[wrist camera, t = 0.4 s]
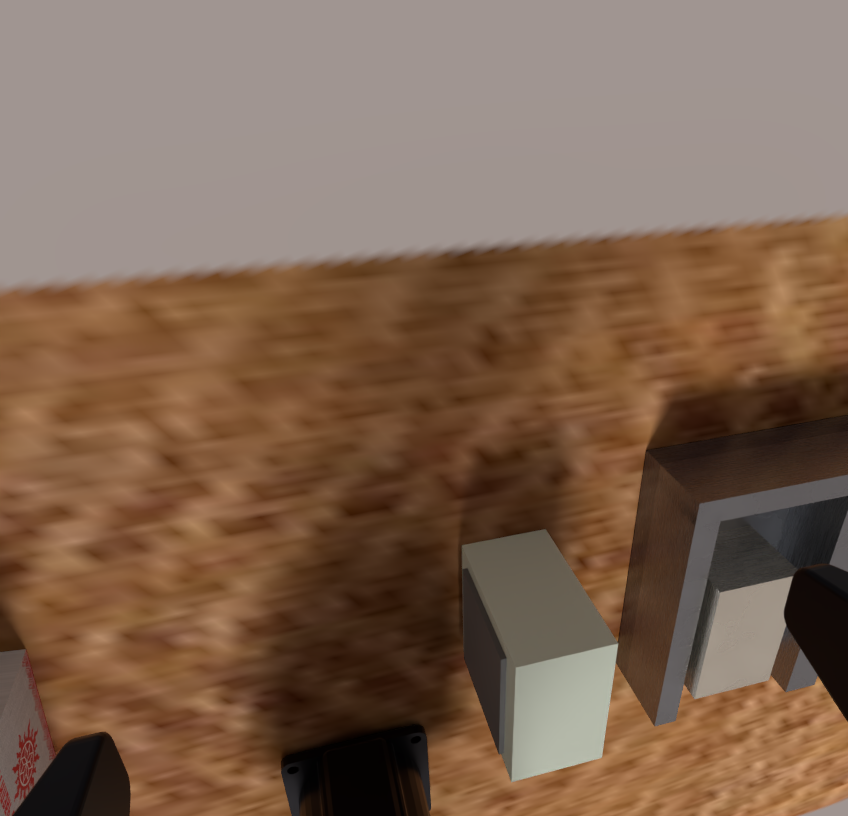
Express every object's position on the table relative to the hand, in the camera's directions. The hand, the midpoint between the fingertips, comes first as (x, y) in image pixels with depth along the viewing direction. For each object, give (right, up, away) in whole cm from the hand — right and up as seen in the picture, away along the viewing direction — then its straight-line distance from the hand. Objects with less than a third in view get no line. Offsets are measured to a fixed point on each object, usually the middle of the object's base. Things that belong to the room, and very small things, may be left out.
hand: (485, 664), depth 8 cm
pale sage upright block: (+2, -4, +19) cm, 20 cm away
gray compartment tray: (+15, -3, +21) cm, 26 cm away
